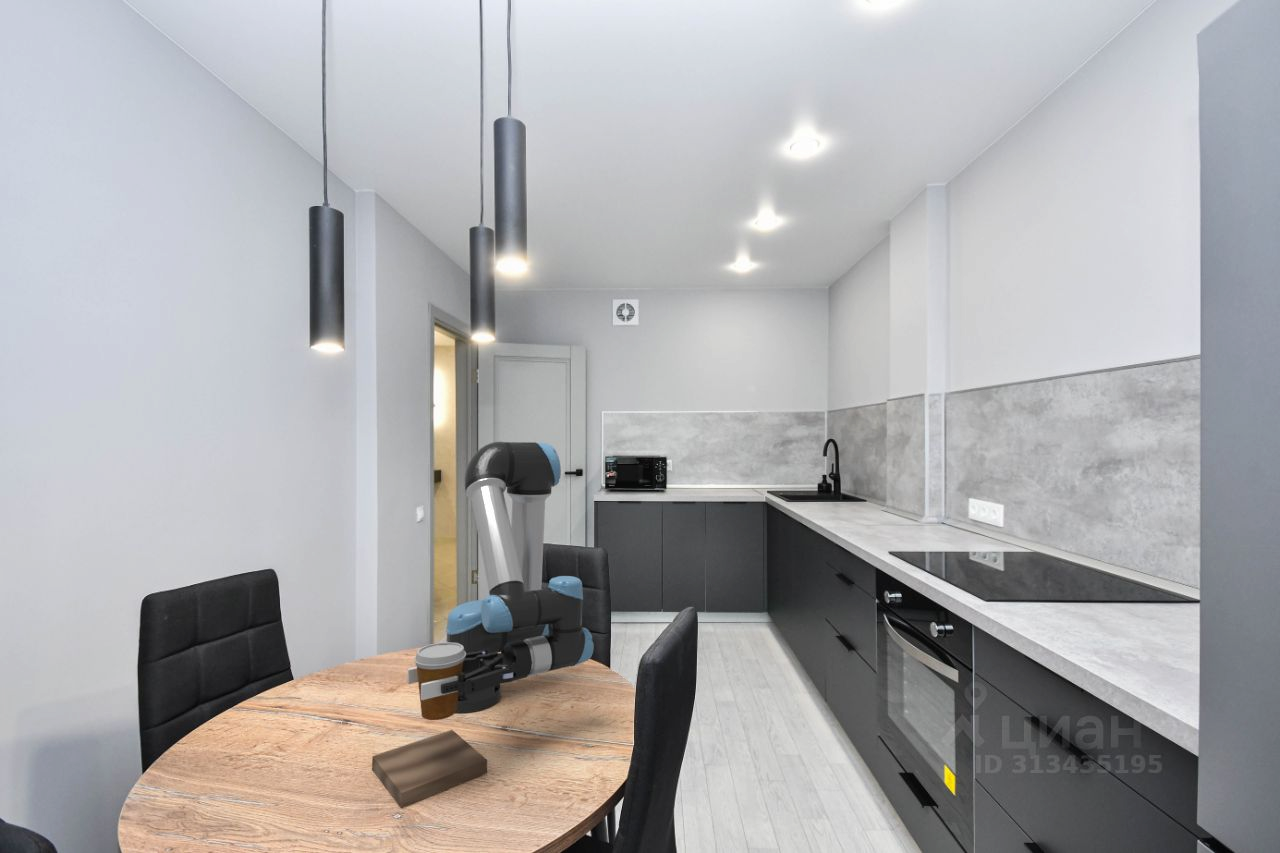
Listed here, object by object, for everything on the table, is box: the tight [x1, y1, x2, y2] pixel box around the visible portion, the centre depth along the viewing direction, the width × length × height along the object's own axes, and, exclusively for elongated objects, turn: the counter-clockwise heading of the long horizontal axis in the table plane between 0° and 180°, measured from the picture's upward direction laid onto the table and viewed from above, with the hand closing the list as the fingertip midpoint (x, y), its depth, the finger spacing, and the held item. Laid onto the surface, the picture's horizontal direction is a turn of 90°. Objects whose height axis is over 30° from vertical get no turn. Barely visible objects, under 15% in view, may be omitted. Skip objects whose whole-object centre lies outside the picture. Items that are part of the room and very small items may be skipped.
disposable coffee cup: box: [413, 641, 466, 721], centre depth 108 cm, size 10×10×12 cm
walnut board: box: [371, 729, 488, 808], centre depth 107 cm, size 16×16×2 cm
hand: (414, 683), depth 105 cm, fingers closed on disposable coffee cup, 8 cm apart
